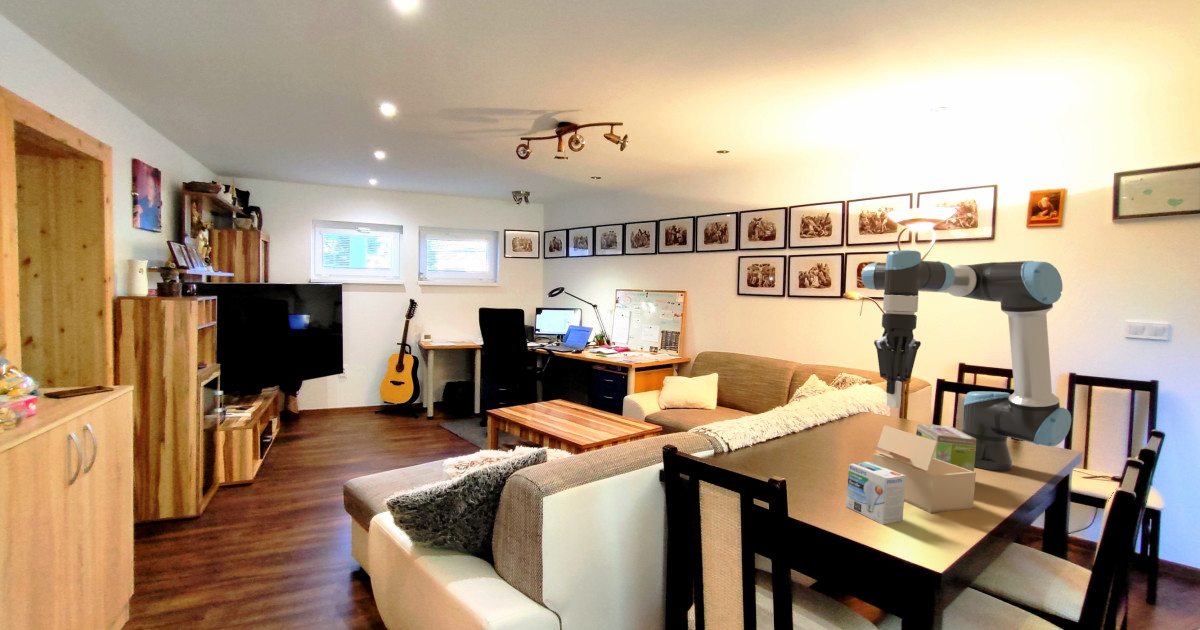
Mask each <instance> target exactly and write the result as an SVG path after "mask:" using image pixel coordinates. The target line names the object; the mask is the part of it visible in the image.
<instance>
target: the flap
mask: <svg viewBox="0 0 1200 630" xmlns="http://www.w3.org/2000/svg"><path fill="white" fill-rule="evenodd" d="M937 443H938V442H937V441H934V440H931V439H928V438H924V437H921V436H918V435H916V433H915V434H914V433H911V432H907V431H904V430H901V429H897V428H895V427H891V426H888V425H883V428H882V431H881V433H880V436H879V440H878V443H877V446H876V445H873V446H872V449H873V450H875V453H880V454H883V455H886V456H888V457H891V458H894V459H896V460H899V461H902V462H904V463H907V464H910V465H913V466H915V467H918V468H921V469H923V470H926V471H929V468H930V465H931V462H932V459H933V456H934V453H935V450H936V446H937Z"/></svg>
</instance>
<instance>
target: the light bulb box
mask: <svg viewBox="0 0 1200 630" xmlns="http://www.w3.org/2000/svg"><path fill="white" fill-rule="evenodd" d="M847 474H848V475H847V485H846V486H847V487H846V488H847V490H846V499H845V501H846V502H845V507H846V508H848V509H850V510H852V511H854V512H856V513H858V514H861V515H863V516H865V517H866V518H869V519H871V520H872V521H874V520H875V521H874V522H877V523H879V524H881V525H887V524H893V523H897V522H899V523H900V522H903V521H904V508H905V507H904V506H905V501H904V495H905V483H906V475H903V474H900V473H897V472H895V471H892V470H889V469H886V468H884V467H881V466H878V465H875V464H873V462H870V461H862V462H855V463H849V464H848V473H847Z"/></svg>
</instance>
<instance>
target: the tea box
mask: <svg viewBox="0 0 1200 630" xmlns="http://www.w3.org/2000/svg"><path fill="white" fill-rule="evenodd" d="M915 435H918V436H921V437H924V438H928V439H931V440H934V441H937V442H938V443H937V446H936V450H935V453H934V456H933V458H935V459H938V460H941V461H944V462H947V463H950V464H953V465H956V466H959V467H962V468H965V469H967V470H970V471H973V472H975V467H974V462H975V451H976V439H975V438H973V437H971V436H969V435H967V434H965V433H964V432H962V431H961V430H960V429H957V428H955V427H954V426H949V425H937V424H927V423H917V424H916V432H915Z"/></svg>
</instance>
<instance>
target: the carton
mask: <svg viewBox="0 0 1200 630" xmlns="http://www.w3.org/2000/svg"><path fill="white" fill-rule="evenodd" d="M872 463H873V464H875V465H878V466H881V467H884V468H886V469H889V470H892V471H895V472H897V473H900V474H903V475H906V483H905V495H904V503H908V504H910V505H911V506H914V507H916V508H919V509H921V510H923V511H925V512H928V513H930V514H933V513H943V512H950V511H951V512H953V511H960V510H968V509H969V510H970V509H974V502H975V501H974V500H975V489H976V487H975V485H976V475H977V472H976V471H974V472H973V471H970V470H967V469H965V468H962V467H959V466H956V465H953V464H950V463H947V462H944V461H941V460H938V459H935V458H933V459H932V462H931V465H930V468H929V471H926V470H923V469H921V468H918V467H915V466H913V465H910V464H907V463H904V462H902V461H899V460H896V459H894V458H891V457H888V456H886V455H883V454H880V453H878V452H874V453H873V454H872Z"/></svg>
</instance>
